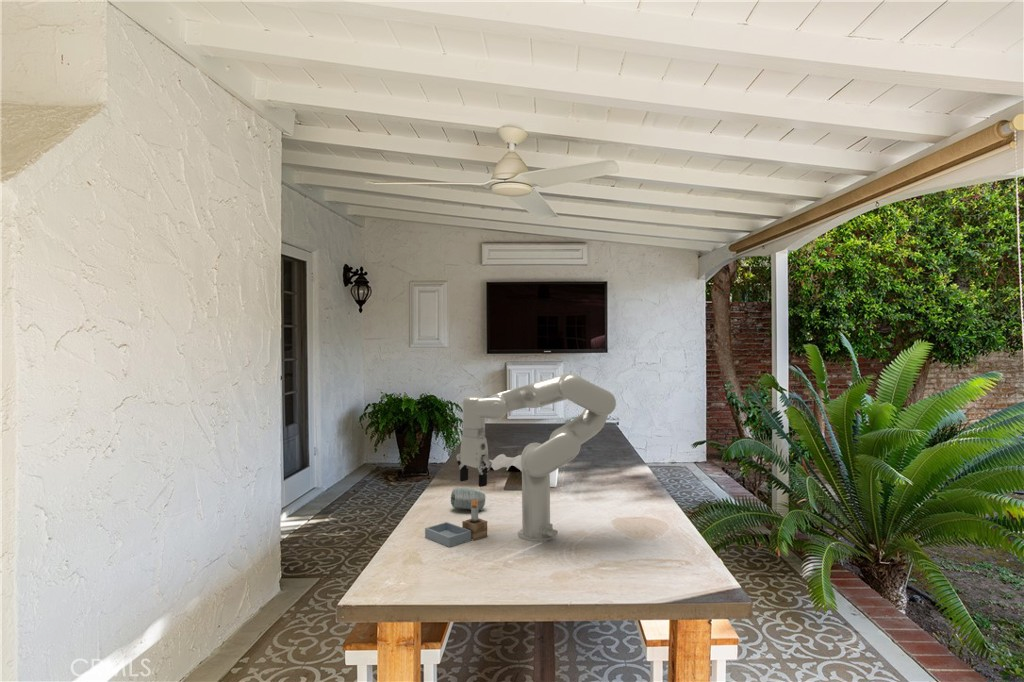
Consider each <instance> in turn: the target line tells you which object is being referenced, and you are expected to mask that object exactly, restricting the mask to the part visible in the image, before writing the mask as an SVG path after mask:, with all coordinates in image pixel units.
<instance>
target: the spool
mask: <svg viewBox="0 0 1024 682" xmlns="http://www.w3.org/2000/svg"><path fill="white" fill-rule="evenodd" d="M471 500H478V512H479V511H482V510H483V509H484V507H485V504H486V493H485V492H484V491H483V490H481V489H478V488H473V487H466V486H465V487H463V486H462V487H459V486H458V487H455V488H453V489H452V492H451V494H450V504H451V507H452V508H454V509H463V510H471Z"/></svg>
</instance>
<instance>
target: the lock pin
mask: <svg viewBox="0 0 1024 682" xmlns="http://www.w3.org/2000/svg"><path fill="white" fill-rule="evenodd" d="M470 515H471V516H470V517H471V518H470V519H471V522H472V523H477V522H478V518H479V511H478V500H471V511H470Z"/></svg>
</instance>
